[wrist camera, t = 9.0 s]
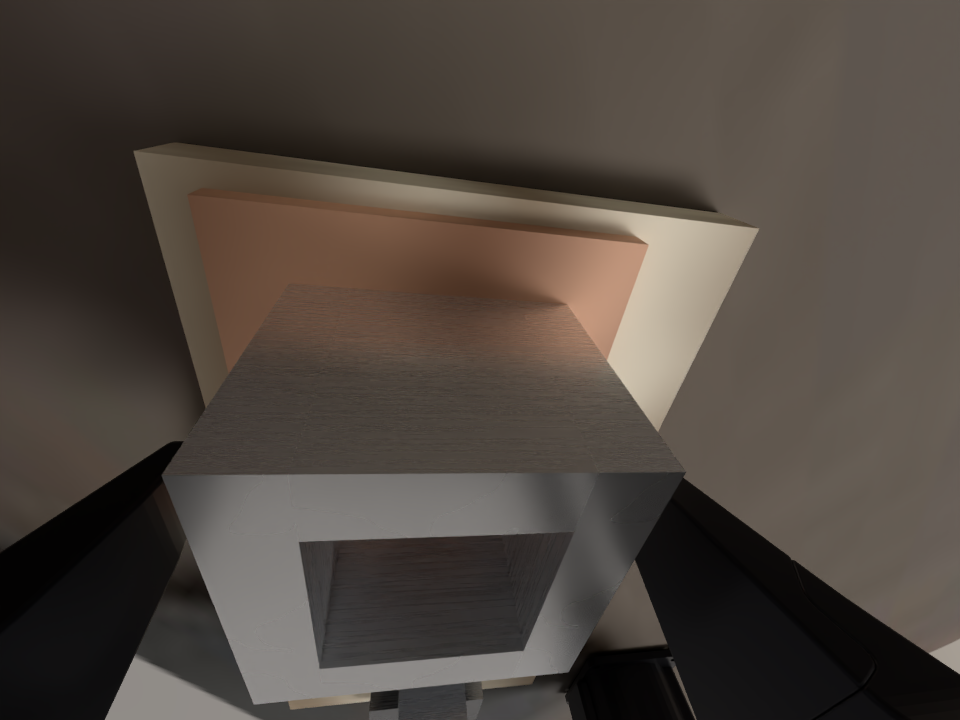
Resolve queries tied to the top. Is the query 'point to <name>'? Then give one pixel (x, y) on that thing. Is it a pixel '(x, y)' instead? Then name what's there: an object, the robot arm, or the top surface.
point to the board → (433, 259)
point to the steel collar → (415, 492)
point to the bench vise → (428, 703)
